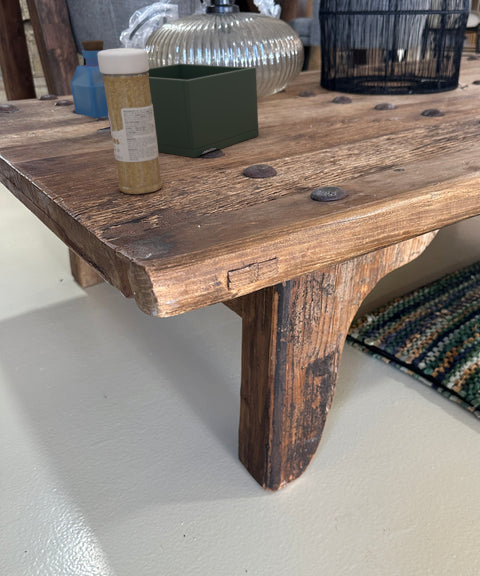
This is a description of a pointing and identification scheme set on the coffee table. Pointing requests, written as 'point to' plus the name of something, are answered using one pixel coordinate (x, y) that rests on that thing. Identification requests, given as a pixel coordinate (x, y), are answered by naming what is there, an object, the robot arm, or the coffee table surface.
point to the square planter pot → (202, 107)
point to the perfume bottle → (90, 83)
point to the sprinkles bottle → (131, 118)
